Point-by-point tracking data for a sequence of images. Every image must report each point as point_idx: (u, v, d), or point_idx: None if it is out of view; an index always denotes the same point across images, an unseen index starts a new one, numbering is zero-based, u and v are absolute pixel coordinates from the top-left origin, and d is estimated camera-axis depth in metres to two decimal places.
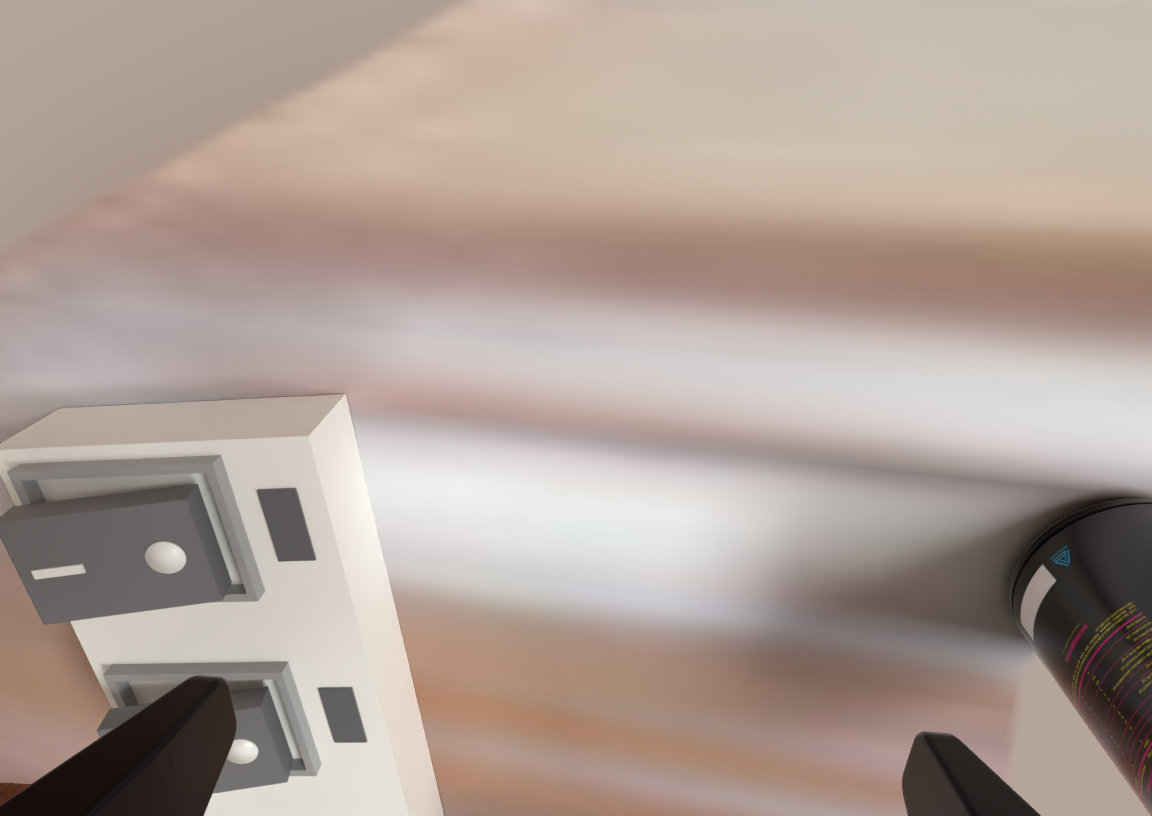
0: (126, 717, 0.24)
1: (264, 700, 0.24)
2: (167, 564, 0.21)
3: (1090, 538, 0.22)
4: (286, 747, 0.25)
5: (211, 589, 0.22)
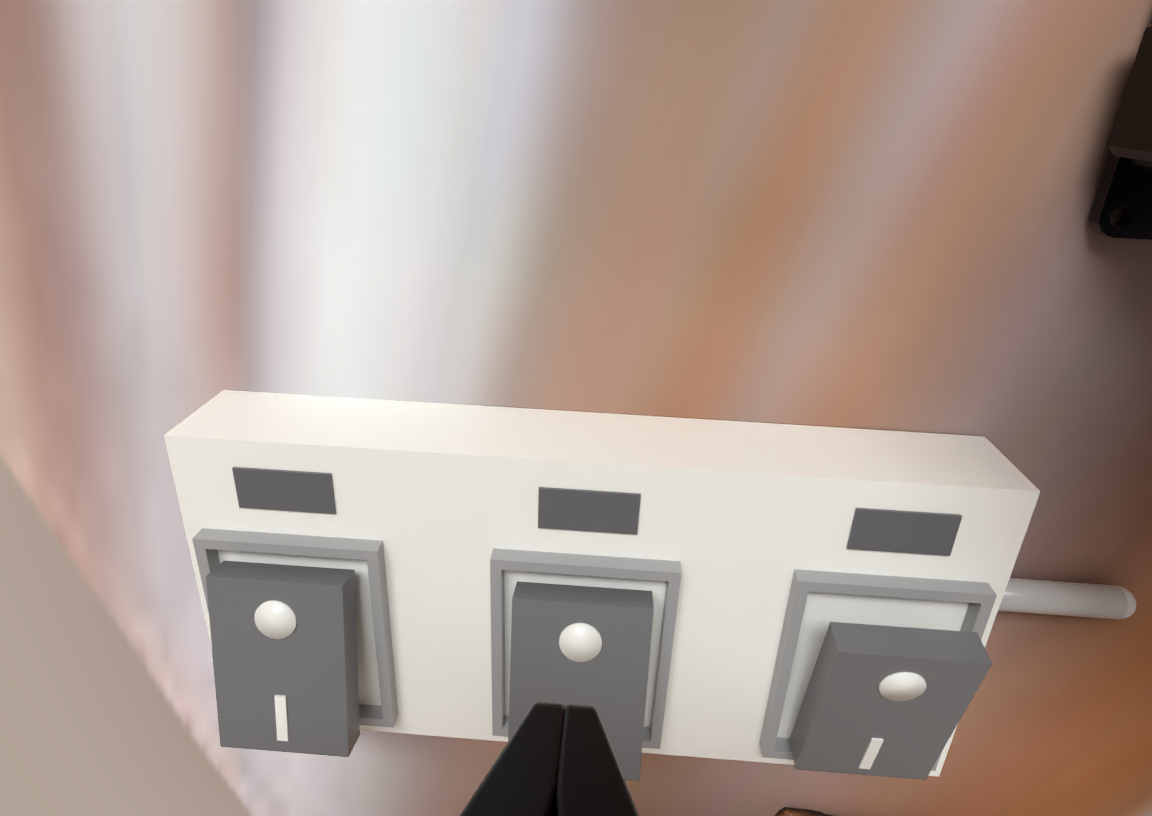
0: None
1: (518, 591, 0.19)
2: (285, 621, 0.19)
3: None
4: (618, 592, 0.19)
5: (324, 591, 0.18)
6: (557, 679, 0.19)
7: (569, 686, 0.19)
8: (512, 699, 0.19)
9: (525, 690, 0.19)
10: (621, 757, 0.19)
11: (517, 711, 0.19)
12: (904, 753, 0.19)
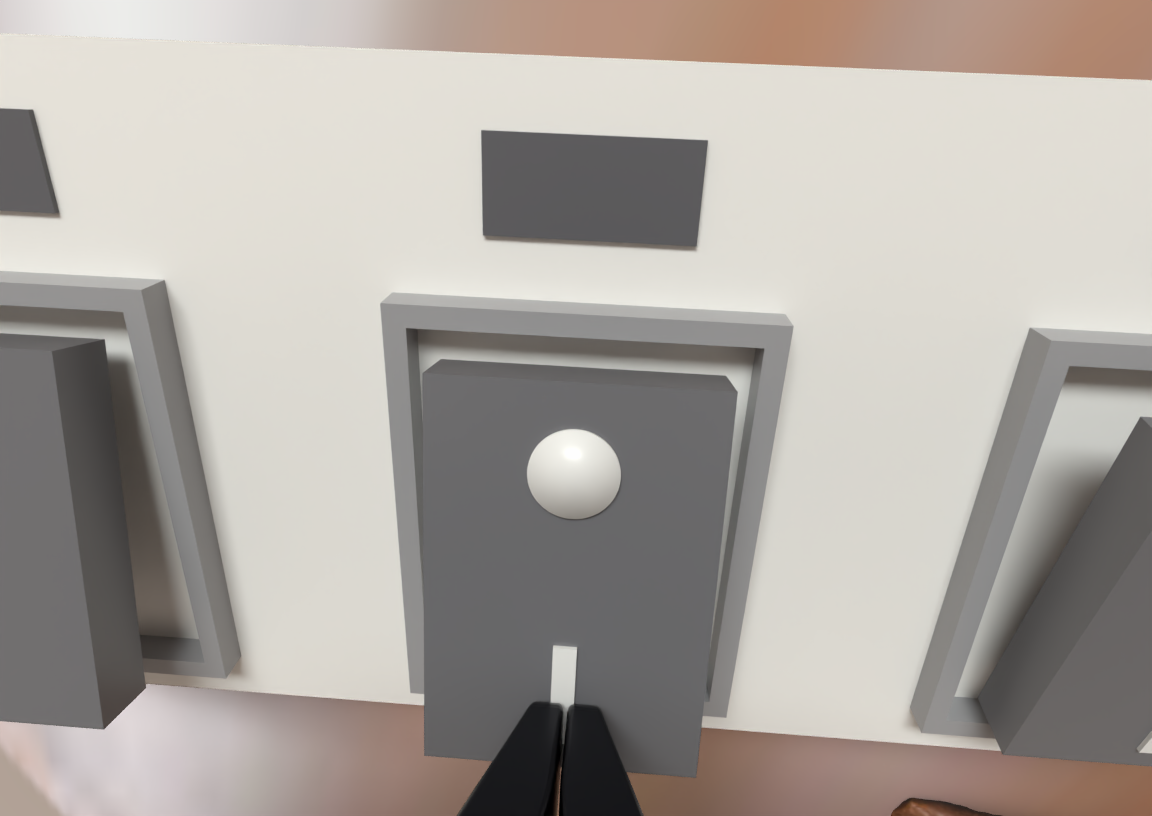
0: None
1: (439, 367, 0.09)
2: None
3: None
4: (655, 375, 0.09)
5: (15, 364, 0.08)
6: (524, 559, 0.09)
7: (552, 574, 0.09)
8: (430, 606, 0.09)
9: (457, 585, 0.09)
10: (660, 728, 0.09)
11: (440, 632, 0.09)
12: None
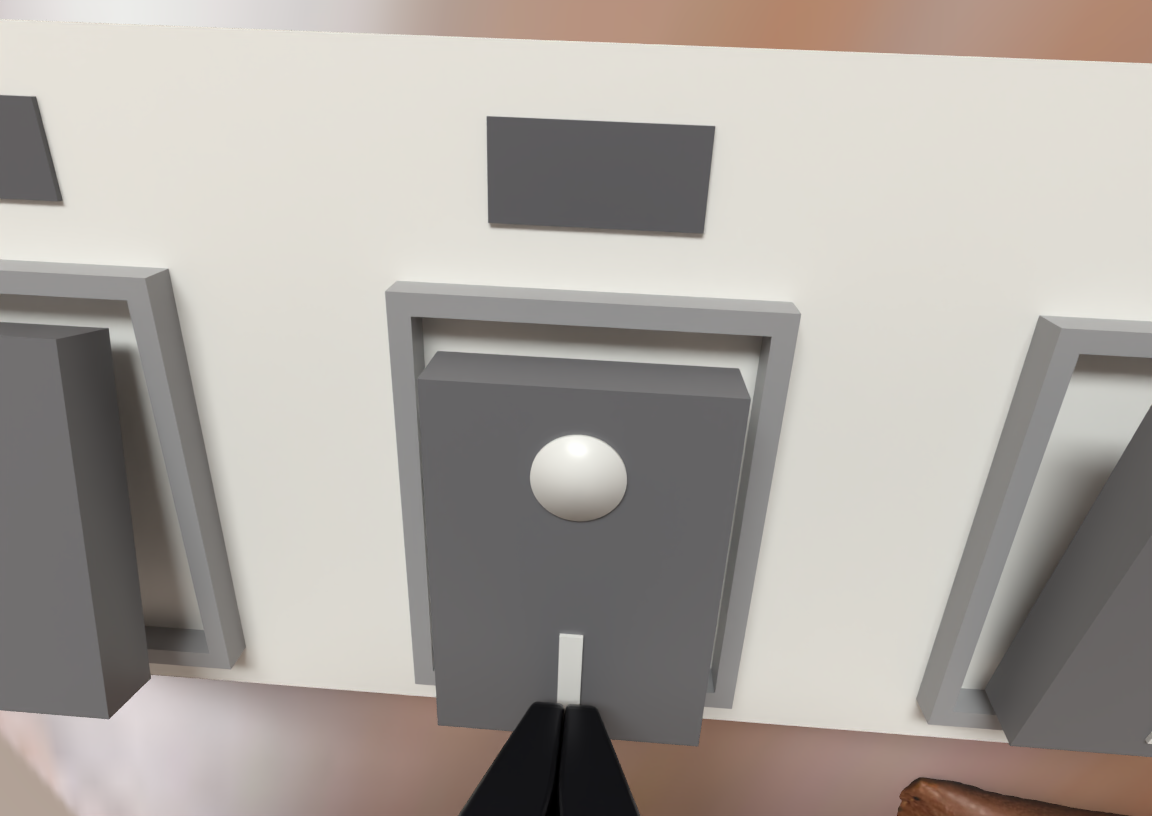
0: None
1: (435, 366, 0.08)
2: None
3: None
4: (664, 370, 0.08)
5: (19, 353, 0.08)
6: (529, 556, 0.09)
7: (557, 570, 0.09)
8: (437, 597, 0.09)
9: (462, 580, 0.09)
10: (664, 706, 0.09)
11: (448, 620, 0.09)
12: None
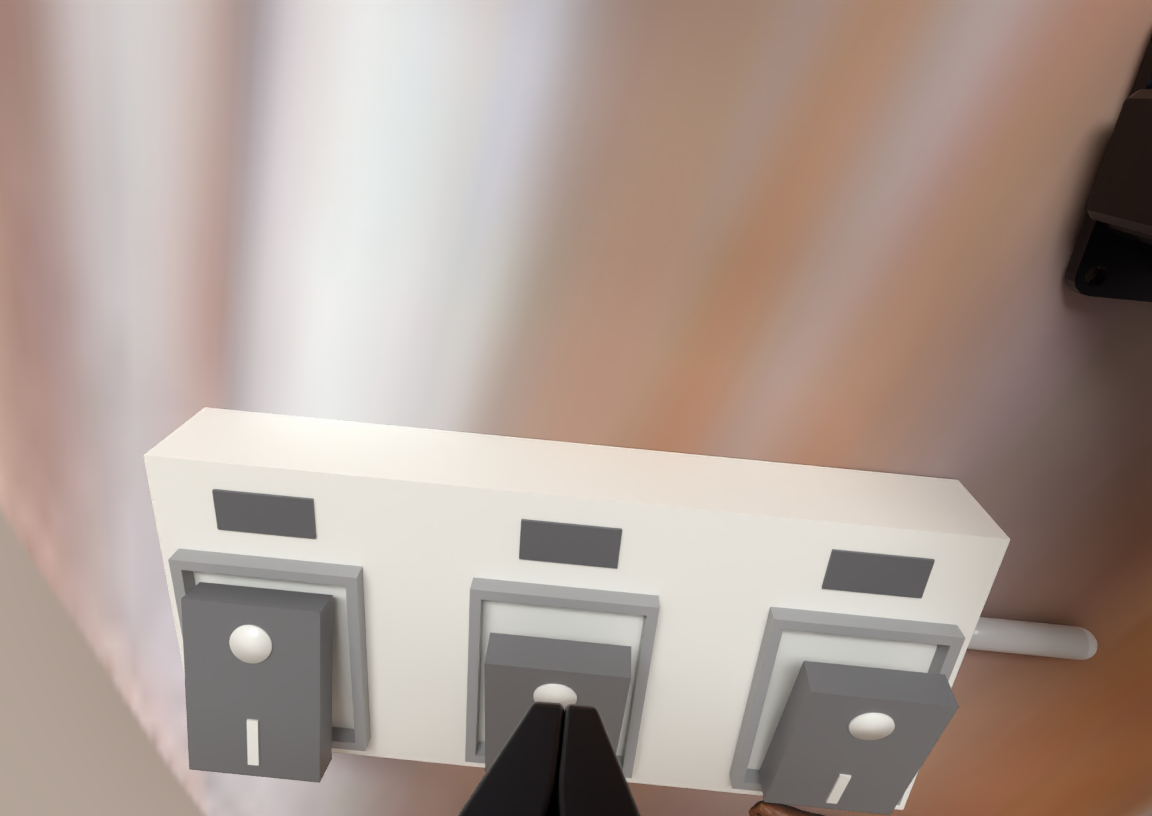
0: None
1: (490, 650, 0.18)
2: (261, 645, 0.19)
3: None
4: (595, 650, 0.18)
5: (302, 617, 0.18)
6: None
7: None
8: (488, 728, 0.19)
9: (500, 724, 0.19)
10: None
11: (493, 736, 0.19)
12: (870, 789, 0.20)
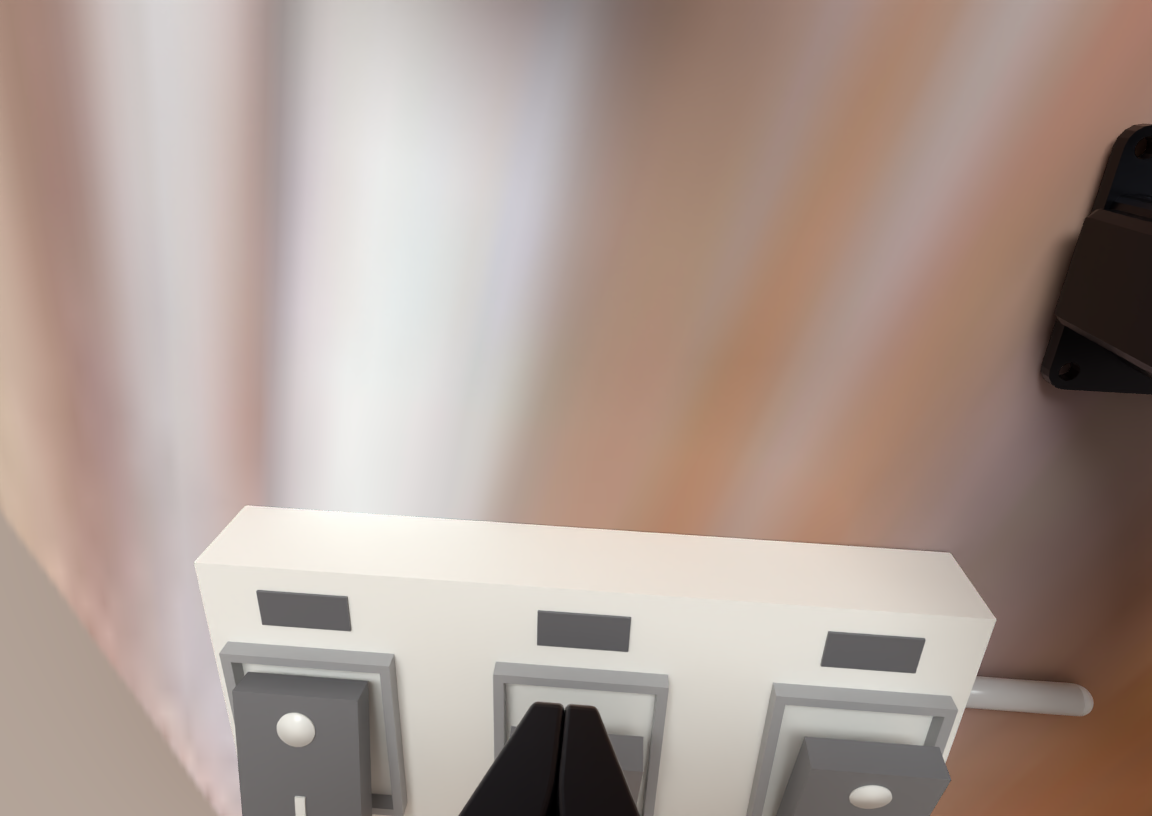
0: None
1: None
2: (305, 730, 0.20)
3: None
4: None
5: (341, 705, 0.20)
6: None
7: None
8: None
9: None
10: None
11: None
12: None
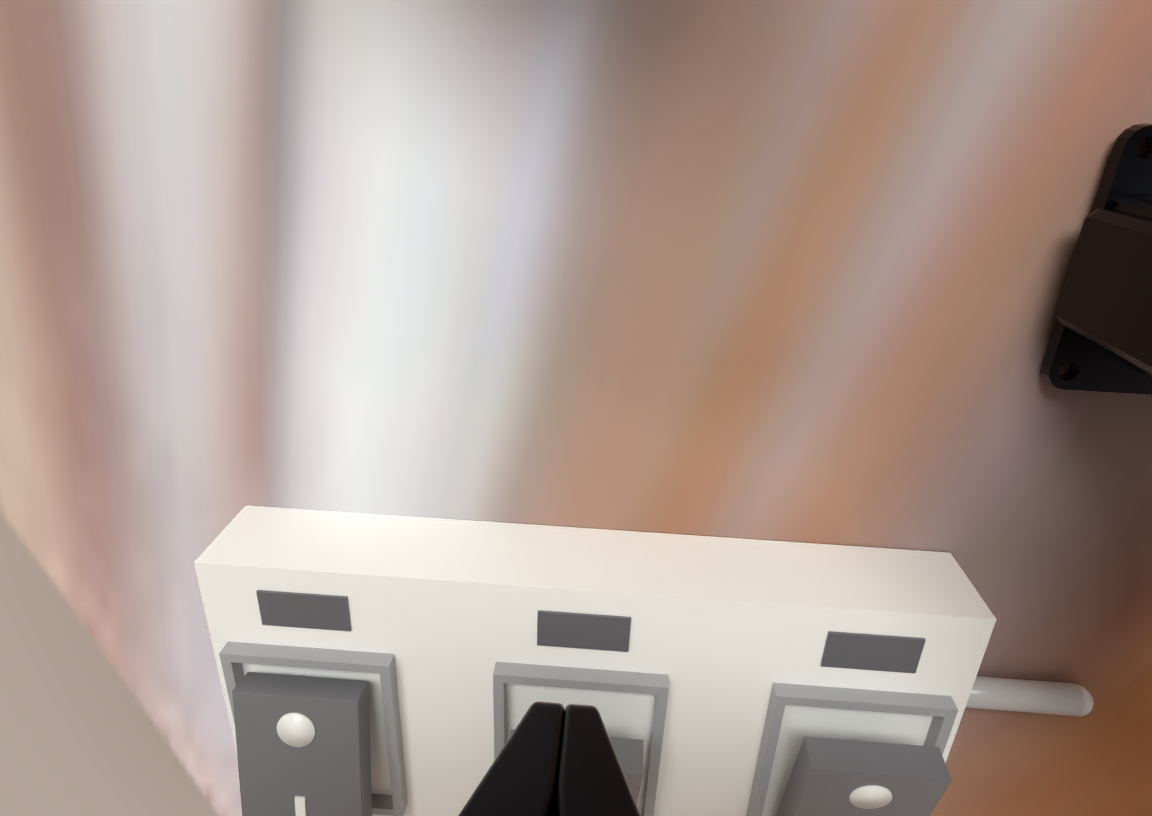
0: None
1: None
2: (305, 730, 0.20)
3: None
4: None
5: (341, 705, 0.20)
6: None
7: None
8: None
9: None
10: None
11: None
12: None
